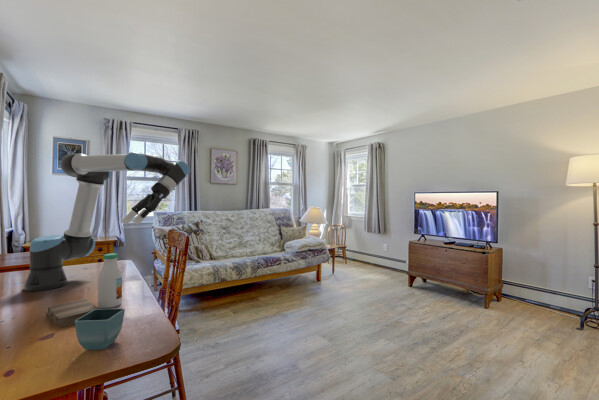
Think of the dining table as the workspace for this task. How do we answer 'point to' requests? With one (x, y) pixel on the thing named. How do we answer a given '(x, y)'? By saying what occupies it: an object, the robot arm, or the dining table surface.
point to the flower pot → (99, 328)
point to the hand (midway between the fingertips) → (129, 223)
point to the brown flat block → (69, 312)
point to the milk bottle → (110, 283)
